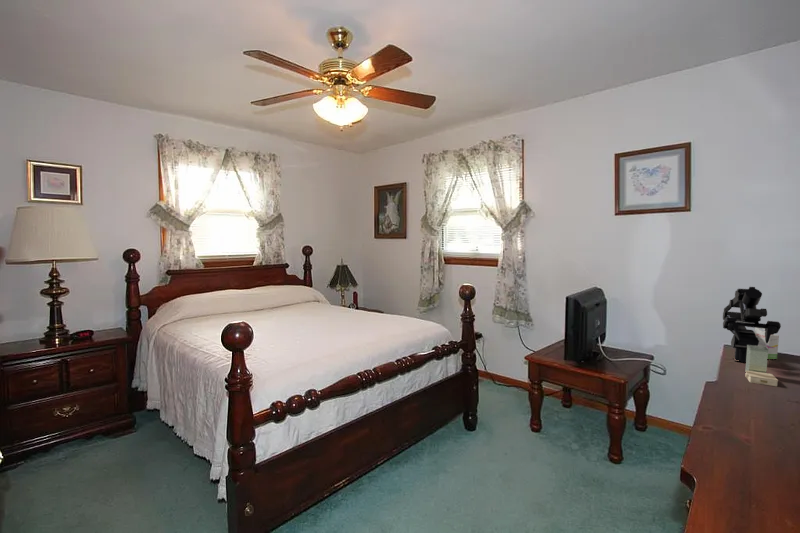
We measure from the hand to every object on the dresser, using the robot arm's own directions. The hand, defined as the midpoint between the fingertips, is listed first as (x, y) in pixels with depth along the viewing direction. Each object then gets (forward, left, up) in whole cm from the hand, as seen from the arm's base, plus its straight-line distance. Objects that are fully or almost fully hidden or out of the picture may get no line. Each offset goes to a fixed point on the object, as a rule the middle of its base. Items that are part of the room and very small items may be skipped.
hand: (753, 341), depth 174 cm
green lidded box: (+7, 0, -13) cm, 15 cm away
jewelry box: (+15, 0, -13) cm, 20 cm away
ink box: (-29, +11, -13) cm, 34 cm away
